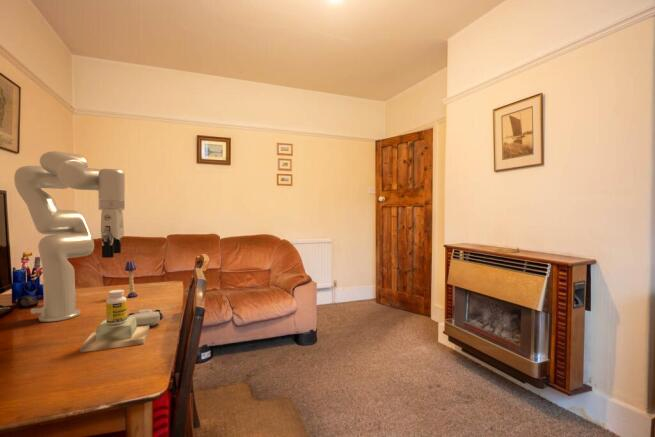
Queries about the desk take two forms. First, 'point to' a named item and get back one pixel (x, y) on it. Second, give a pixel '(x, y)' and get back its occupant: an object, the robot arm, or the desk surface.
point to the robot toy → (147, 317)
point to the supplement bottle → (116, 307)
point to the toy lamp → (131, 277)
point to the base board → (115, 343)
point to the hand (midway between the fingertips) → (111, 255)
